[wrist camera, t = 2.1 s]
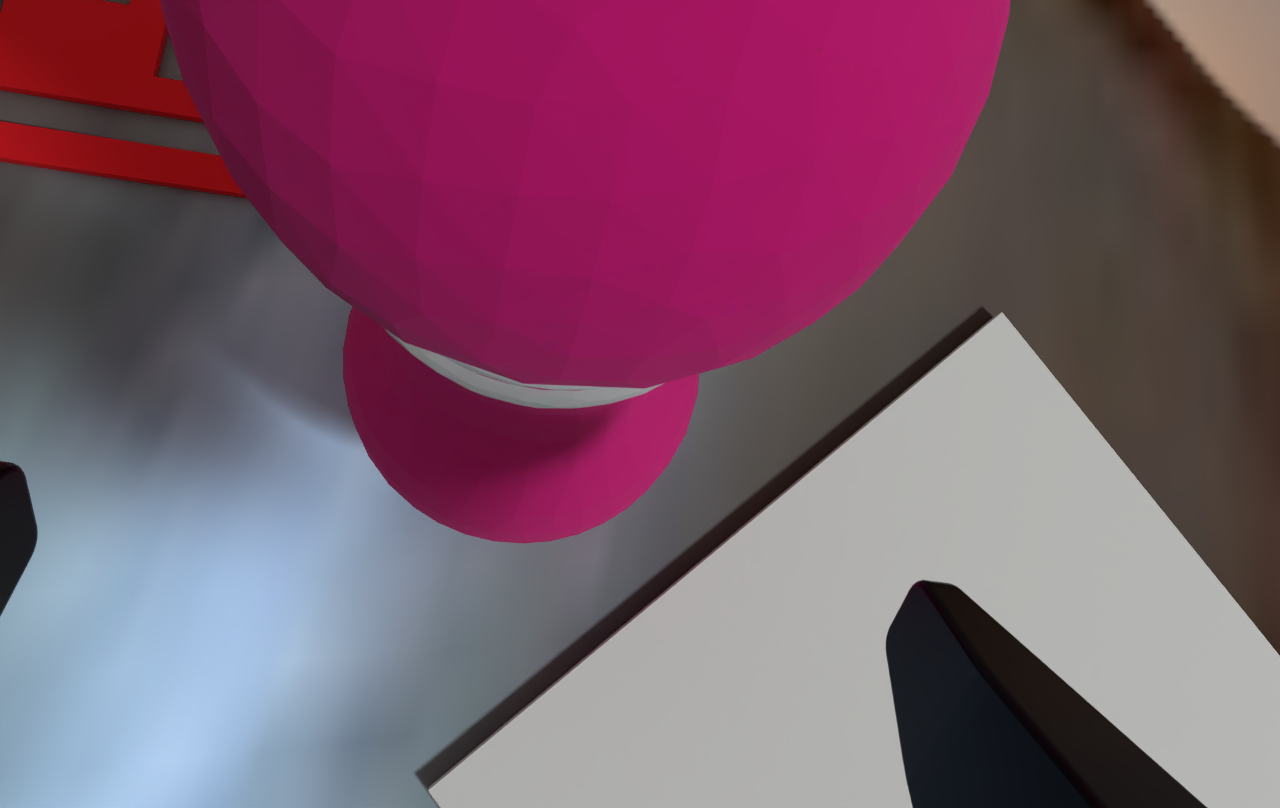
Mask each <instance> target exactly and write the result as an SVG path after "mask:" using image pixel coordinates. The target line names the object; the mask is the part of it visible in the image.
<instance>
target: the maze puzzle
mask: <svg viewBox="0 0 1280 808" xmlns="http://www.w3.org/2000/svg"><path fill="white" fill-rule="evenodd" d="M167 34H168V30H167V26H166V23H165V20H164V17H163V13H162V8H161V2H160V0H130V3H129V5H125V4H120V3H114V2H109V1H103V0H4V2H3V5H2V9H1V12H0V90H2V91H9V92H15V93H21V94H27V95H33V96H40V97H46V98H52V99H58V100H64V101H71V102H77V103H83V104H89V105H95V106H102V107H108V108H114V109H120V110H126V111H133V112H139V113H145V114H151V115H157V116H164V117H170V118H176V119H182V120H189V121H195V122H201V123H204V122H203V120H202V118H201V116H200V114H199V112H198V110H197V108H196V106H195V104H194V102H193V100H192V98H191V96H190V94H189V92H188V90H187V88H186V86H185V84H184V81H179V80H173V79H167V78H161V77H157V76H158V72H159V67H160V63H161V59H162V55H163V51H164V47H165V42H166V38H167ZM0 162H7V163H14V164H20V165H27V166H34V167H41V168H47V169H54V170H61V171H67V172H74V173H81V174H88V175H94V176H101V177H108V178H114V179H121V180H128V181H135V182H141V183H148V184H155V185H161V186H168V187H175V188H182V189H188V190H195V191H202V192H209V193H215V194H222V195H229V196H235V197H242V198H247V197H246V196H245V194H244V193H243V192H242V190H241V189H240V188H239V187H238V185H237V184H236V183H235V181H234V180H233V179H232V177H231V175H230V173H229V171H228V169H227V167H226V165H225V163H224V161H223V159H222V157H221V156H220V155H213V154H207V153H201V152H194V151H188V150H181V149H175V148H169V147H162V146H156V145H149V144H143V143H137V142H130V141H124V140H117V139H111V138H105V137H98V136H92V135H85V134H79V133H73V132H66V131H60V130H53V129H47V128H40V127H34V126H28V125H21V124H15V123H8V122H2V121H0Z"/></svg>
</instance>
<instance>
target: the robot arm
mask: <svg viewBox="0 0 1280 808" xmlns="http://www.w3.org/2000/svg"><path fill="white" fill-rule="evenodd" d="M36 542H37V524H36V520H35V515H34V511H33V507H32V502H31V498H30V494H29V489H28V485H27V480H26V477H25V474H24V472H23V470H22V469H21V468H20V467H19V466H18V465H16V464H13V463H10V462H3V461H0V616H1V614H2V612H3V610H4V608H5V606H6V605H7V603H8V601H9V599H10V597H11V595H12V593H13V591H14V589H15V587H16V585H17V584H18V582H19V580H20V578H21V576H22V574H23V572H24V570H25V568H26V566H27V564H28V562H29V561H30V559H31V557H32V554H33V552H34V549H35V546H36ZM886 657H887V663H888V669H889V676H890V682H891V689H892V695H893V702H894V708H895V715H896V721H897V727H898V734H899V740H900V747H901V753H902V760H903V765H904V771H905V776H906V781H907V786H908V790H909V794H910V798H911V803H912V807H913V808H1207V807H1206V806H1205V805H1204V804H1203V803H1202V802H1200V801H1199V800H1198V799H1197V798H1196V797H1195V796H1194V795H1193V794H1191V793H1190V792H1189V791H1188V790H1187V789H1186V788H1185V787H1184V786H1182V785H1181V784H1180V783H1179V782H1178V781H1177V780H1176V779H1174V778H1173V777H1172V776H1171V775H1170V774H1169V773H1168V772H1167V771H1165V770H1164V769H1163V768H1162V767H1161V766H1160V765H1159V764H1158V763H1156V762H1155V761H1154V760H1153V759H1152V758H1151V757H1150V756H1149V755H1147V754H1146V753H1145V752H1144V751H1143V750H1142V749H1141V748H1139V747H1138V746H1137V745H1136V744H1135V743H1134V742H1133V741H1132V740H1130V739H1129V738H1128V737H1127V736H1126V735H1125V734H1124V733H1123V732H1121V731H1120V730H1119V729H1118V728H1117V727H1116V726H1115V725H1113V724H1112V723H1111V722H1110V721H1109V720H1108V719H1107V718H1106V717H1104V716H1103V715H1102V714H1101V713H1100V712H1099V711H1098V710H1097V709H1095V708H1094V707H1093V706H1092V705H1091V704H1090V703H1089V702H1087V701H1086V700H1085V699H1084V698H1083V697H1082V696H1081V695H1080V694H1078V693H1077V692H1076V691H1075V690H1074V689H1073V688H1072V687H1071V686H1069V685H1068V684H1067V683H1066V682H1065V681H1064V680H1063V679H1062V678H1060V677H1059V676H1058V675H1057V674H1056V673H1055V672H1054V671H1052V670H1051V669H1050V668H1049V667H1048V666H1047V665H1046V664H1045V663H1043V662H1042V661H1041V660H1040V659H1039V658H1038V657H1037V656H1036V655H1034V654H1033V653H1032V652H1031V651H1030V650H1029V649H1028V648H1026V647H1025V646H1024V645H1023V644H1022V643H1021V642H1020V641H1019V640H1017V639H1016V638H1015V637H1014V636H1013V635H1012V634H1011V633H1010V632H1008V631H1007V630H1006V629H1005V628H1004V627H1003V626H1002V625H1000V624H999V623H998V622H997V621H996V620H995V619H994V618H993V617H991V616H990V615H989V614H988V613H987V612H986V611H985V610H984V609H982V608H981V607H980V606H979V605H978V604H977V603H976V602H975V601H973V600H972V599H971V598H970V597H969V596H968V595H967V594H965V593H964V592H963V591H962V590H961V589H960V588H958V587H957V586H955V585H953V584H950V583H944V582H937V581H929V580H920V581H917V582H916V583H915V584H913V585H912V587H911V588H910V590H909V592H908V593H907V595H906V597H905V599H904V601H903V603H902V605H901V606H900V608H899V610H898V612H897V614H896V616H895V618H894V620H893V621H892V623H891V625H890V627H889V630H888V633H887V636H886Z"/></svg>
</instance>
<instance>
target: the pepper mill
mask: <svg viewBox="0 0 1280 808" xmlns="http://www.w3.org/2000/svg"><path fill="white" fill-rule="evenodd" d="M160 2H161V8H162V13H163V17H164V20H165V23H166V26H167V30H168V33H169V36H170V39H171V43H172V46H173V49H174V52H175V55H176V59H177V62H178V65H179V68H180V71H181V75H182V78H183V81H184V84H185V86H186V88H187V90H188V92H189V94H190V96H191V98H192V100H193V102H194V104H195V106H196V108H197V110H198V112H199V114H200V116H201V118H202V120H203V122H204V124H205V126H206V128H207V130H208V132H209V134H210V136H211V138H212V140H213V142H214V144H215V145H216V147H217V149H218V151H219V153H220V155H221V157H222V159H223V161H224V163H225V165H226V167H227V169H228V171H229V173H230V175H231V177H232V179H233V180H234V181H235V183H236V184H237V185H238V187H239V188H240V189H241V190H242V192H243V193H244V194H245V196H246V197H247V198H248V199H249V201H250V202H251V203H252V204H253V206H254V207H255V208H256V210H257V211H258V212H259V213H260V215H261V216H262V217H263V218H264V220H265V221H266V222H267V224H268V225H269V226H270V227H271V229H272V230H273V231H274V233H275V234H276V235H277V236H278V238H279V239H280V240H281V241H282V243H283V244H284V245H285V246H286V247H287V248H288V249H289V250H290V251H291V252H292V253H293V254H294V255H295V256H296V257H297V258H298V259H299V260H300V261H301V262H302V263H303V264H304V265H305V266H306V267H307V268H308V269H309V270H310V271H311V272H312V273H313V274H314V275H315V276H316V277H317V278H318V279H319V280H320V281H321V283H322V284H323V285H324V286H325V287H326V288H328V289H329V290H331V291H332V292H333V293H335V294H336V295H338V296H339V297H341V298H342V299H343V300H345V301H346V302H348V303H349V304H351V305H352V306H353V307H352V310H351V312H350V315H349V319H348V325H347V331H346V337H345V342H344V348H343V378H344V384H345V389H346V395H347V401H348V406H349V409H350V412H351V415H352V419H353V422H354V425H355V427H356V429H357V432H358V434H359V436H360V438H361V440H362V443H363V445H364V447H365V449H366V451H367V453H368V456H369V457H370V459H371V460H372V461H373V463H374V464H375V466H376V467H377V468H378V470H379V471H380V473H381V474H382V475H383V477H384V478H385V480H386V481H387V482H388V484H389V485H390V486H391V487H392V488H394V489H395V490H396V491H397V492H398V493H399V494H400V495H401V496H402V497H403V498H404V499H406V500H407V501H408V502H409V503H410V504H411V505H412V506H413V507H414V508H416V509H418V510H419V511H421V512H422V513H424V514H425V515H427V516H429V517H430V518H432V519H433V520H435V521H436V522H438V523H440V524H443V525H445V526H447V527H450V528H452V529H454V530H457V531H459V532H461V533H464V534H467V535H471V536H475V537H479V538H483V539H488V540H492V541H499V542H512V543H532V542H544V541H552V540H557V539H561V538H565V537H569V536H573V535H577V534H580V533H582V532H584V531H587V530H589V529H591V528H594V527H596V526H598V525H601V524H603V523H605V522H606V521H608V520H610V519H611V518H613V517H614V516H616V515H617V514H619V513H621V512H622V511H624V510H625V509H627V508H628V507H629V506H630V505H631V504H632V503H634V502H635V501H636V500H637V499H638V498H639V497H641V496H642V495H643V494H644V493H645V492H646V491H647V490H648V489H649V487H650V486H651V485H652V484H653V483H654V482H655V480H656V479H657V478H658V477H659V476H660V474H661V473H662V472H663V471H664V469H665V468H666V467H667V465H668V464H669V463H670V461H671V459H672V457H673V456H674V454H675V452H676V450H677V449H678V447H679V445H680V443H681V441H682V440H683V438H684V436H685V434H686V432H687V428H688V425H689V422H690V418H691V415H692V412H693V408H694V405H695V402H696V398H697V394H698V381H699V373H702V372H706V371H710V370H713V369H717V368H720V367H724V366H727V365H731V364H734V363H737V362H741V361H744V360H748V359H751V358H753V357H755V356H757V355H759V354H760V353H762V352H764V351H766V350H767V349H769V348H771V347H772V346H774V345H776V344H778V343H779V342H781V341H783V340H785V339H786V338H788V337H790V336H792V335H793V334H795V333H797V332H799V331H800V330H802V329H804V328H806V327H807V326H809V325H811V324H813V323H814V322H815V321H817V320H818V319H819V318H821V317H822V316H823V315H824V314H826V313H827V312H828V311H830V310H831V309H832V308H834V307H835V306H836V305H838V304H839V303H840V302H842V301H843V300H844V299H846V298H847V297H848V296H849V295H851V294H852V293H853V292H855V291H856V290H857V289H859V288H860V287H861V286H862V285H863V283H864V282H865V281H866V280H867V279H868V278H869V277H870V276H871V275H872V274H873V272H874V271H875V270H876V269H877V268H878V267H879V266H880V265H881V264H882V263H883V261H884V260H885V259H886V258H887V257H888V256H889V255H890V254H891V253H892V252H893V250H894V249H895V248H896V247H897V246H898V245H899V243H900V242H901V241H902V239H903V238H904V237H905V235H906V234H907V233H908V232H909V230H910V229H911V228H912V226H913V225H914V224H915V222H916V221H917V220H918V219H919V217H920V216H921V215H922V213H923V212H924V211H925V209H926V208H927V207H928V205H929V204H930V203H931V202H932V200H933V199H934V198H935V196H936V195H937V194H938V192H939V191H940V190H941V189H942V187H943V186H944V185H945V183H946V182H947V181H948V179H949V178H950V177H951V175H952V172H953V170H954V168H955V166H956V164H957V162H958V160H959V157H960V155H961V153H962V151H963V149H964V147H965V145H966V142H967V140H968V138H969V136H970V134H971V132H972V130H973V127H974V125H975V123H976V121H977V119H978V117H979V115H980V113H981V110H982V108H983V106H984V104H985V102H986V100H987V98H988V95H989V91H990V87H991V84H992V80H993V76H994V72H995V68H996V64H997V60H998V56H999V53H1000V49H1001V45H1002V41H1003V37H1004V33H1005V29H1006V25H1007V22H1008V18H1009V10H1010V0H160Z"/></svg>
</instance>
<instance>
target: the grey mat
mask: <svg viewBox="0 0 1280 808" xmlns="http://www.w3.org/2000/svg"><path fill="white" fill-rule="evenodd" d="M920 580H929V581H937V582H944V583H950V584H953V585H955V586H957V587H958V588H960V589H961V590H962V591H963V592H964V593H965V594H967V595H968V596H969V597H970V598H971V599H972V600H973V601H975V602H976V603H977V604H978V605H979V606H980V607H981V608H982V609H984V610H985V611H986V612H987V613H988V614H989V615H990V616H991V617H993V618H994V619H995V620H996V621H997V622H998V623H999V624H1000V625H1002V626H1003V627H1004V628H1005V629H1006V630H1007V631H1008V632H1010V633H1011V634H1012V635H1013V636H1014V637H1015V638H1016V639H1017V640H1019V641H1020V642H1021V643H1022V644H1023V645H1024V646H1025V647H1026V648H1028V649H1029V650H1030V651H1031V652H1032V653H1033V654H1034V655H1036V656H1037V657H1038V658H1039V659H1040V660H1041V661H1042V662H1043V663H1045V664H1046V665H1047V666H1048V667H1049V668H1050V669H1051V670H1052V671H1054V672H1055V673H1056V674H1057V675H1058V676H1059V677H1060V678H1062V679H1063V680H1064V681H1065V682H1066V683H1067V684H1068V685H1069V686H1071V687H1072V688H1073V689H1074V690H1075V691H1076V692H1077V693H1078V694H1080V695H1081V696H1082V697H1083V698H1084V699H1085V700H1086V701H1087V702H1089V703H1090V704H1091V705H1092V706H1093V707H1094V708H1095V709H1097V710H1098V711H1099V712H1100V713H1101V714H1102V715H1103V716H1104V717H1106V718H1107V719H1108V720H1109V721H1110V722H1111V723H1112V724H1113V725H1115V726H1116V727H1117V728H1118V729H1119V730H1120V731H1121V732H1123V733H1124V734H1125V735H1126V736H1127V737H1128V738H1129V739H1130V740H1132V741H1133V742H1134V743H1135V744H1136V745H1137V746H1138V747H1139V748H1141V749H1142V750H1143V751H1144V752H1145V753H1146V754H1147V755H1149V756H1150V757H1151V758H1152V759H1153V760H1154V761H1155V762H1156V763H1158V764H1159V765H1160V766H1161V767H1162V768H1163V769H1164V770H1165V771H1167V772H1168V773H1169V774H1170V775H1171V776H1172V777H1173V778H1174V779H1176V780H1177V781H1178V782H1179V783H1180V784H1181V785H1182V786H1184V787H1185V788H1186V789H1187V790H1188V791H1189V792H1190V793H1191V794H1193V795H1194V796H1195V797H1196V798H1197V799H1198V800H1199V801H1200V802H1202V803H1203V804H1204V805H1205V806H1206V807H1207V808H1280V656H1279V654H1278V653H1277V652H1276V651H1275V650H1274V648H1273V647H1272V646H1271V645H1270V643H1269V642H1268V641H1267V640H1266V638H1265V637H1264V636H1263V635H1262V633H1261V632H1260V631H1259V630H1258V628H1257V627H1256V626H1255V625H1254V624H1253V622H1252V621H1251V620H1250V619H1249V617H1248V616H1247V615H1246V614H1245V612H1244V611H1243V610H1242V609H1241V607H1240V606H1239V605H1238V604H1237V602H1236V601H1235V600H1234V599H1233V598H1232V596H1231V595H1230V594H1229V593H1228V591H1227V590H1226V589H1225V588H1224V586H1223V585H1222V584H1221V583H1220V581H1219V580H1218V579H1217V578H1216V576H1215V575H1214V574H1213V573H1212V572H1211V570H1210V569H1209V568H1208V567H1207V565H1206V564H1205V563H1204V562H1203V560H1202V559H1201V558H1200V557H1199V555H1198V554H1197V553H1196V552H1195V550H1194V549H1193V548H1192V547H1191V546H1190V544H1189V543H1188V542H1187V541H1186V539H1185V538H1184V537H1183V536H1182V534H1181V533H1180V532H1179V531H1178V529H1177V528H1176V527H1175V526H1174V524H1173V523H1172V522H1171V521H1170V520H1169V518H1168V517H1167V516H1166V515H1165V513H1164V512H1163V511H1162V510H1161V508H1160V507H1159V506H1158V505H1157V503H1156V502H1155V501H1154V500H1153V498H1152V497H1151V496H1150V495H1149V494H1148V492H1147V491H1146V490H1145V489H1144V487H1143V486H1142V485H1141V484H1140V482H1139V481H1138V480H1137V479H1136V477H1135V476H1134V475H1133V474H1132V472H1131V471H1130V470H1129V469H1128V468H1127V466H1126V465H1125V464H1124V463H1123V461H1122V460H1121V459H1120V458H1119V456H1118V455H1117V454H1116V453H1115V451H1114V450H1113V449H1112V448H1111V446H1110V445H1109V444H1108V443H1107V442H1106V440H1105V439H1104V438H1103V437H1102V435H1101V434H1100V433H1099V432H1098V430H1097V429H1096V428H1095V427H1094V425H1093V424H1092V423H1091V422H1090V420H1089V419H1088V418H1087V417H1086V415H1085V414H1084V413H1083V412H1082V411H1081V409H1080V408H1079V407H1078V406H1077V404H1076V403H1075V402H1074V401H1073V399H1072V398H1071V397H1070V396H1069V394H1068V393H1067V392H1066V391H1065V389H1064V388H1063V387H1062V386H1061V385H1060V383H1059V382H1058V381H1057V380H1056V378H1055V377H1054V376H1053V375H1052V373H1051V372H1050V371H1049V370H1048V368H1047V367H1046V366H1045V365H1044V363H1043V362H1042V361H1041V360H1040V359H1039V357H1038V356H1037V355H1036V354H1035V352H1034V351H1033V350H1032V349H1031V347H1030V346H1029V345H1028V344H1027V342H1026V341H1025V340H1024V339H1023V337H1022V336H1021V335H1020V334H1019V333H1018V331H1017V330H1016V329H1015V328H1014V326H1013V325H1012V324H1011V323H1010V321H1009V320H1008V319H1007V318H1006V316H1005V315H1004V314H1003V313H1000V314H998V315H996V316H994V317H993V318H992V319H990V320H989V321H988V322H987V323H986V324H984V325H983V326H982V327H981V328H980V329H978V330H977V331H976V332H975V333H974V334H972V335H971V336H970V337H969V338H968V339H966V340H965V341H964V342H963V343H962V344H960V345H959V346H958V347H957V348H956V349H954V350H953V351H952V352H951V353H950V354H948V355H947V356H946V357H945V358H944V359H942V360H941V361H940V362H939V363H938V364H936V365H935V366H934V367H933V368H932V369H930V370H929V371H928V372H927V373H926V374H924V375H923V376H922V377H921V378H920V379H918V380H917V381H916V382H915V383H913V384H912V385H911V386H910V387H909V388H907V389H906V390H905V391H904V392H903V393H901V394H900V395H899V396H898V397H897V398H895V399H894V400H893V401H892V402H891V403H889V404H888V405H887V406H886V407H885V408H883V409H882V410H881V411H880V412H879V413H877V414H876V415H875V416H874V417H873V418H871V419H870V420H869V421H868V422H867V423H865V424H864V425H863V426H862V427H861V428H859V429H858V430H857V431H856V432H855V433H853V434H852V435H851V436H850V437H849V438H847V439H846V440H845V441H844V442H843V443H841V444H840V445H839V446H838V447H837V448H835V449H834V450H833V451H832V452H831V453H829V454H828V455H827V456H826V457H825V458H823V459H822V460H821V461H820V462H819V463H817V464H816V465H815V466H814V467H813V468H811V469H810V470H809V471H808V472H807V473H805V474H804V475H803V476H802V477H801V478H799V479H798V480H797V481H796V482H795V483H793V484H792V485H791V486H790V487H789V488H787V489H786V490H785V491H784V492H783V493H781V494H780V495H779V496H778V497H776V498H775V499H774V500H773V501H772V502H770V503H769V504H768V505H767V506H766V507H764V508H763V509H762V510H761V511H760V512H758V513H757V514H756V515H755V516H754V517H752V518H751V519H750V520H749V521H748V522H746V523H745V524H744V525H743V526H742V527H740V528H739V529H738V530H737V531H736V532H734V533H733V534H732V535H731V536H730V537H728V538H727V539H726V540H725V541H724V542H722V543H721V544H720V545H719V546H718V547H716V548H715V549H714V550H713V551H712V552H710V553H709V554H708V555H707V556H706V557H704V558H703V559H702V560H701V561H700V562H698V563H697V564H696V565H695V566H694V567H692V568H691V569H690V570H689V571H688V572H686V573H685V574H684V575H683V576H682V577H680V578H679V579H678V580H677V581H676V582H674V583H673V584H672V585H671V586H670V587H668V588H667V589H666V590H665V591H664V592H662V593H661V594H660V595H659V596H658V597H656V598H655V599H654V600H653V601H652V602H650V603H649V604H648V605H647V606H645V607H644V608H643V609H642V610H641V611H639V612H638V613H637V614H636V615H635V616H633V617H632V618H631V619H630V620H629V621H627V622H626V623H625V624H624V625H623V626H621V627H620V628H619V629H618V630H617V631H615V632H614V633H613V634H612V635H611V636H609V637H608V638H607V639H606V640H605V641H603V642H602V643H601V644H600V645H599V646H597V647H596V648H595V649H594V650H593V651H591V652H590V653H589V654H588V655H587V656H585V657H584V658H583V659H582V660H581V661H579V662H578V663H577V664H576V665H575V666H573V667H572V668H571V669H570V670H569V671H567V672H566V673H565V674H564V675H563V676H561V677H560V678H559V679H558V680H557V681H555V682H554V683H553V684H552V685H551V686H549V687H548V688H547V689H546V690H545V691H543V692H542V693H541V694H540V695H539V696H537V697H536V698H535V699H534V700H533V701H531V702H530V703H529V704H528V705H527V706H525V707H524V708H523V709H522V710H521V711H519V712H518V713H517V714H516V715H515V716H513V717H512V718H511V719H510V720H508V721H507V722H506V723H505V724H504V725H502V726H501V727H500V728H499V729H498V730H496V731H495V732H494V733H493V734H492V735H490V736H489V737H488V738H487V739H486V740H484V741H483V742H482V743H481V744H480V745H478V746H477V747H476V748H475V749H474V750H472V751H471V752H470V753H469V754H468V755H466V756H465V757H464V758H463V759H462V760H460V761H459V762H458V763H457V764H456V765H454V766H453V767H452V768H451V769H450V770H448V771H447V772H446V773H445V774H444V775H442V776H441V777H440V778H439V779H438V780H436V781H435V782H434V783H433V784H432V785H430V786H429V789H428V791H429V793H430V794H431V795H432V797H433V798H434V799H435V801H436V802H437V804H438V805H439V806H440V808H913V807H912V803H911V798H910V794H909V790H908V786H907V781H906V776H905V771H904V765H903V760H902V753H901V747H900V740H899V734H898V727H897V721H896V715H895V708H894V702H893V695H892V689H891V682H890V676H889V669H888V663H887V657H886V636H887V633H888V630H889V627H890V625H891V623H892V621H893V620H894V618H895V616H896V614H897V612H898V610H899V608H900V606H901V605H902V603H903V601H904V599H905V597H906V595H907V593H908V592H909V590H910V588H911V587H912V585H913V584H915V583H916V582H917V581H920Z"/></svg>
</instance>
